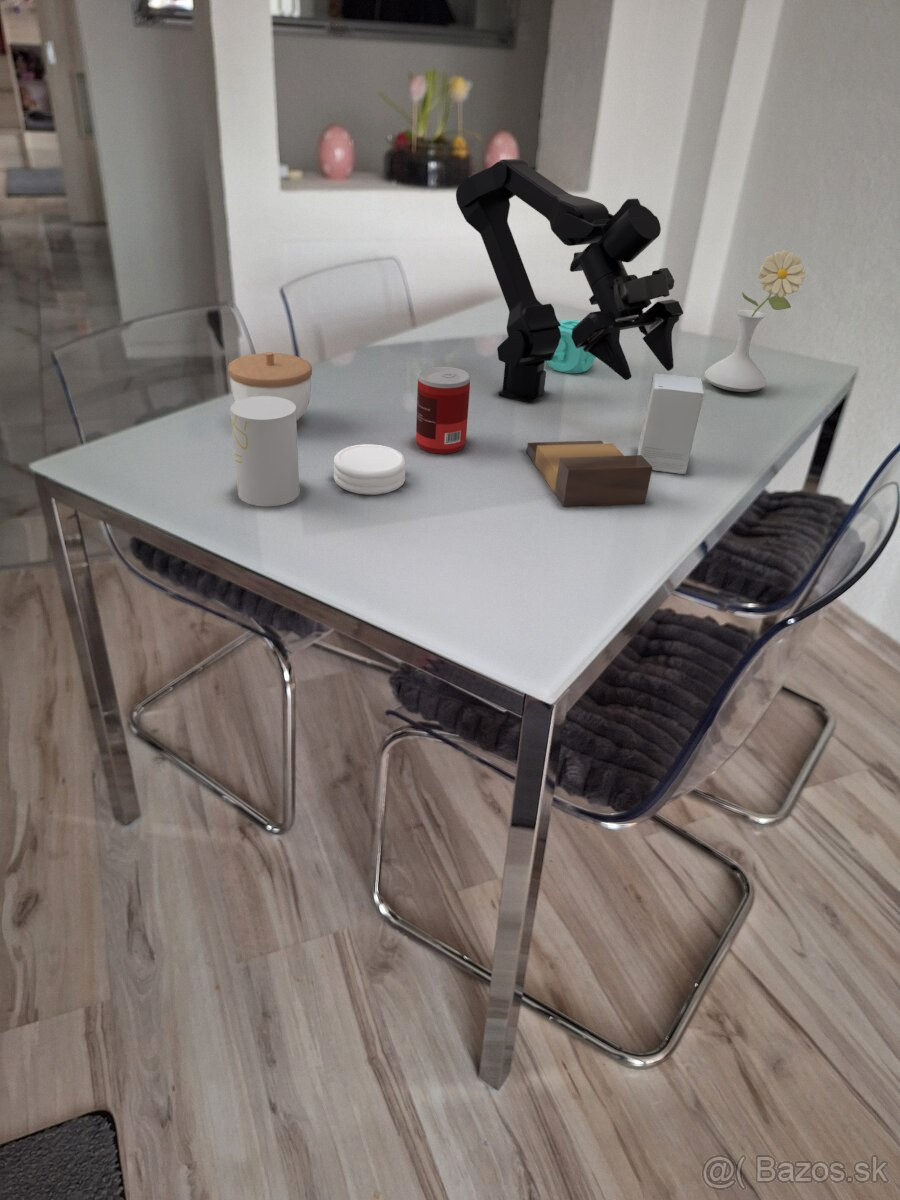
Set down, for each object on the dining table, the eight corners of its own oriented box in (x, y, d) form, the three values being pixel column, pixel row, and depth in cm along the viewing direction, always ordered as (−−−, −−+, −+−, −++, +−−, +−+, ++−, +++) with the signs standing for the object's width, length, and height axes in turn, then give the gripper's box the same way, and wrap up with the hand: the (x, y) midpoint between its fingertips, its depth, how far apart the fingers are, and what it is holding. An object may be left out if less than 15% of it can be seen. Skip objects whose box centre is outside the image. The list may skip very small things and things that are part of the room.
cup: (241, 478, 118) (234, 395, 112) (301, 479, 119) (297, 396, 113) (234, 506, 112) (226, 418, 105) (297, 506, 112) (293, 420, 106)
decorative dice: (595, 366, 169) (601, 325, 164) (578, 376, 163) (584, 334, 158) (559, 357, 172) (564, 317, 168) (540, 367, 166) (545, 325, 162)
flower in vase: (698, 390, 160) (730, 249, 146) (706, 373, 169) (737, 238, 155) (770, 403, 156) (809, 259, 143) (775, 385, 165) (812, 248, 152)
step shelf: (526, 451, 132) (530, 417, 129) (599, 449, 134) (605, 416, 131) (563, 507, 117) (568, 470, 114) (645, 503, 119) (652, 467, 116)
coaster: (377, 503, 115) (377, 479, 113) (319, 482, 119) (318, 459, 117) (418, 477, 122) (419, 455, 120) (362, 459, 126) (362, 437, 124)
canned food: (472, 439, 135) (477, 370, 128) (455, 458, 128) (460, 387, 122) (426, 430, 136) (429, 362, 130) (408, 449, 130) (410, 378, 124)
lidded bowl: (328, 417, 139) (327, 350, 133) (284, 443, 129) (280, 372, 123) (263, 402, 143) (259, 335, 137) (216, 426, 133) (209, 356, 127)
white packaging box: (686, 475, 128) (705, 393, 121) (636, 468, 129) (652, 387, 122) (685, 456, 134) (702, 377, 127) (637, 449, 135) (652, 371, 128)
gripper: (596, 253, 117) (642, 355, 116) (686, 243, 127) (729, 337, 126) (551, 299, 127) (593, 393, 126) (638, 286, 137) (677, 374, 135)
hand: (650, 374), depth 128 cm, fingers open, 9 cm apart
